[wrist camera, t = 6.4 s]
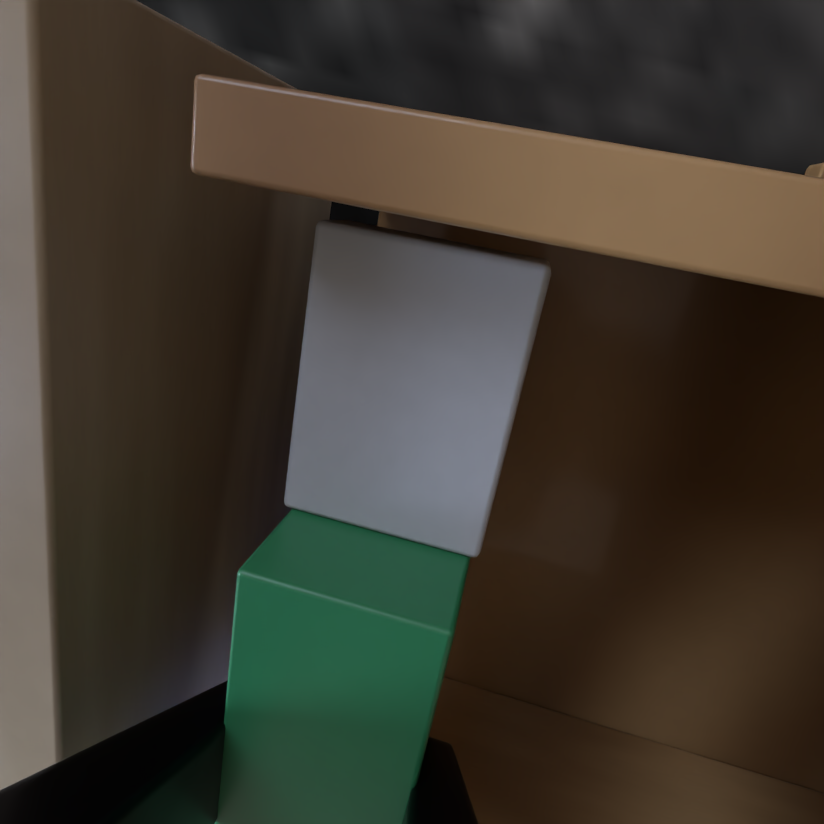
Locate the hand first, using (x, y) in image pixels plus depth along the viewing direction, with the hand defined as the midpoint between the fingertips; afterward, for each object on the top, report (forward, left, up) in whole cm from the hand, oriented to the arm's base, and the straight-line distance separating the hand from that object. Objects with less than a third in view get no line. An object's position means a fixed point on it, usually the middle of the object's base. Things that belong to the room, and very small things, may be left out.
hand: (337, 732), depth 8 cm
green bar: (-1, +1, -1) cm, 2 cm away
